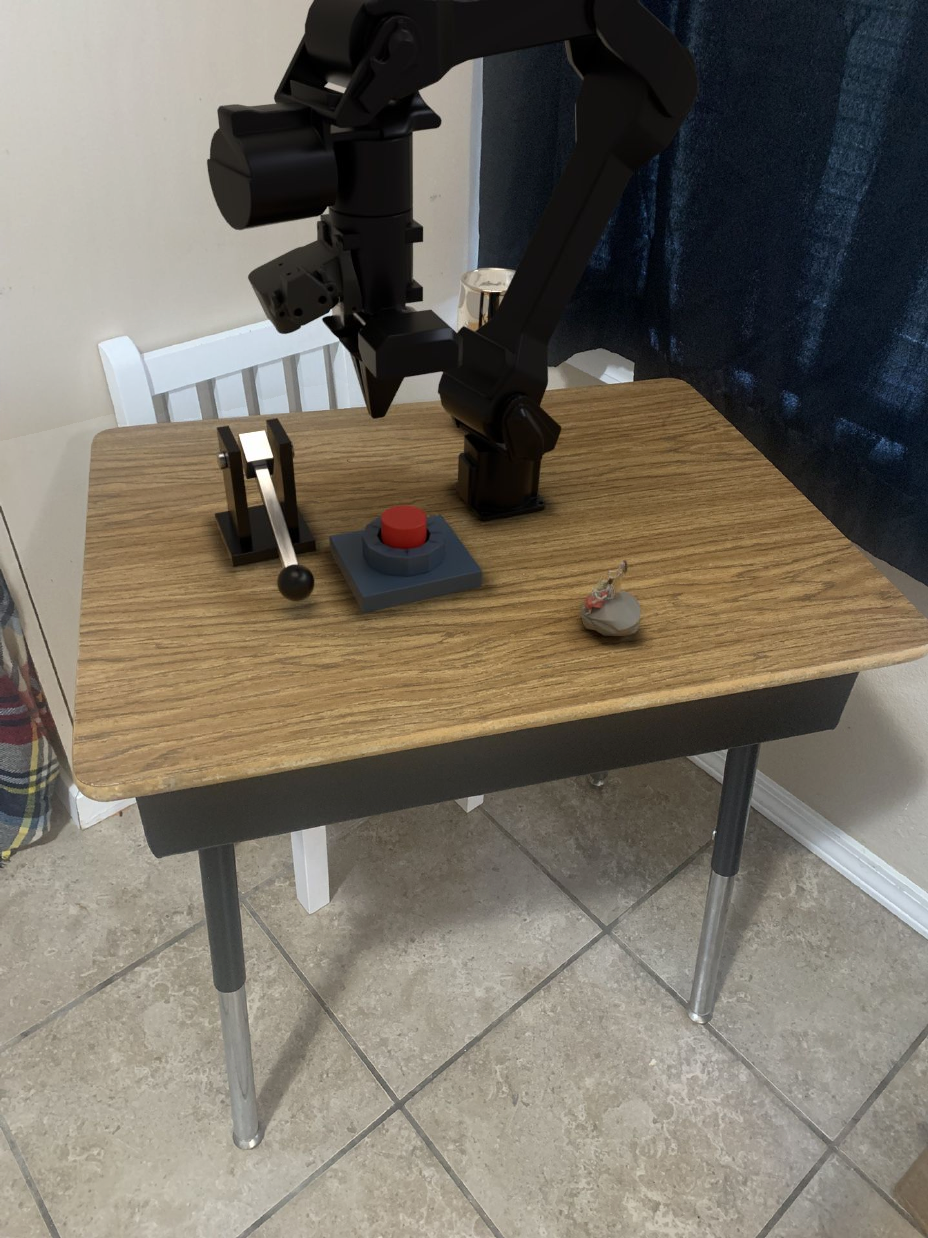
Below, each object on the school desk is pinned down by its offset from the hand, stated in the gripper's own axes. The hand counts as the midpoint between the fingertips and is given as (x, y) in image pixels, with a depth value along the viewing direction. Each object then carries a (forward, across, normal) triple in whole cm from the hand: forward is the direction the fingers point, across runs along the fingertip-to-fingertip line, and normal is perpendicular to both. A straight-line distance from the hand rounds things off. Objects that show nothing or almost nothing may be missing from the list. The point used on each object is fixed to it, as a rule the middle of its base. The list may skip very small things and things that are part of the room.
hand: (376, 416), depth 76 cm
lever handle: (+8, 0, -9) cm, 12 cm away
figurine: (+12, +17, +12) cm, 24 cm away
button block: (+12, +4, 0) cm, 13 cm away
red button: (+9, +4, +1) cm, 10 cm away
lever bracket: (+12, -5, -9) cm, 16 cm away
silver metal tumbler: (+12, -17, +18) cm, 28 cm away
